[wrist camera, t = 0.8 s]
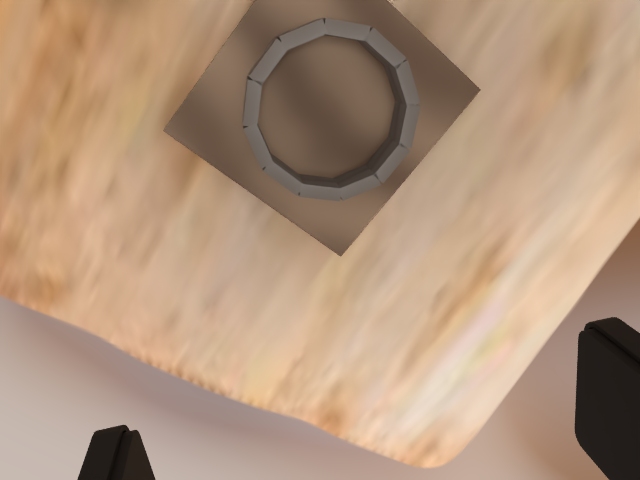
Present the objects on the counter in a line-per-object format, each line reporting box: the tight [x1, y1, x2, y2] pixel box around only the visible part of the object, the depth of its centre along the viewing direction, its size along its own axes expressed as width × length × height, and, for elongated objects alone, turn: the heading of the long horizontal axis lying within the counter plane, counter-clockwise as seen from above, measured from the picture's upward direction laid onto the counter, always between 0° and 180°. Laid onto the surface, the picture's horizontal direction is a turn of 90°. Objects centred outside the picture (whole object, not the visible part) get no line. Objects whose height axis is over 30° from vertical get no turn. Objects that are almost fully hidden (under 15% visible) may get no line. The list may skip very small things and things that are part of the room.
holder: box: [163, 0, 480, 256], centre depth 32 cm, size 14×14×4 cm
